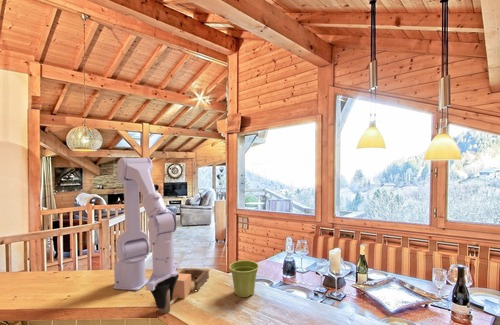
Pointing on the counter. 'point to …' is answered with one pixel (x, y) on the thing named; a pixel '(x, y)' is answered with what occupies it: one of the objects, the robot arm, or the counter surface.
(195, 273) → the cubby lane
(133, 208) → the robot arm
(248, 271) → the plant pot
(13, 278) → the counter surface
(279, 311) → the counter surface
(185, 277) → the tethered block
